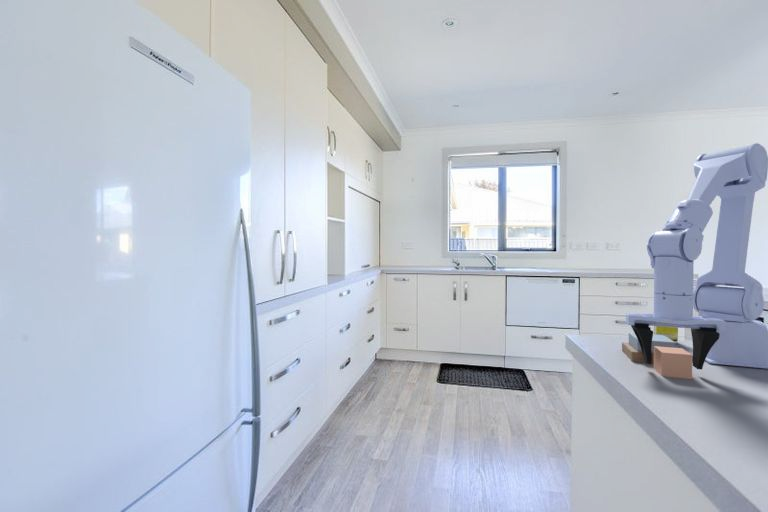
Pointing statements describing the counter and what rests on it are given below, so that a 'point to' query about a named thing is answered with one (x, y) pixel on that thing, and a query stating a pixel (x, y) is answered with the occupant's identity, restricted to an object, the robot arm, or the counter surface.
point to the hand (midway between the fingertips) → (671, 365)
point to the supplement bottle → (667, 332)
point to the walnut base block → (633, 353)
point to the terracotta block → (673, 362)
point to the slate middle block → (656, 341)
